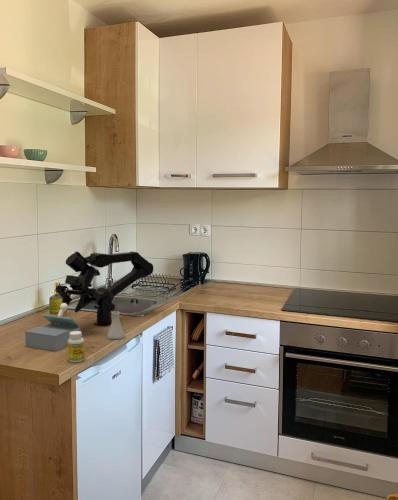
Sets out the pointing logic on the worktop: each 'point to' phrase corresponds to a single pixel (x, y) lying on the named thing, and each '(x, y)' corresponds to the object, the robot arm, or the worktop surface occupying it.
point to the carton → (49, 336)
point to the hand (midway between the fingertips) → (68, 311)
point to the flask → (115, 328)
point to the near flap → (59, 318)
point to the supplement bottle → (76, 347)
